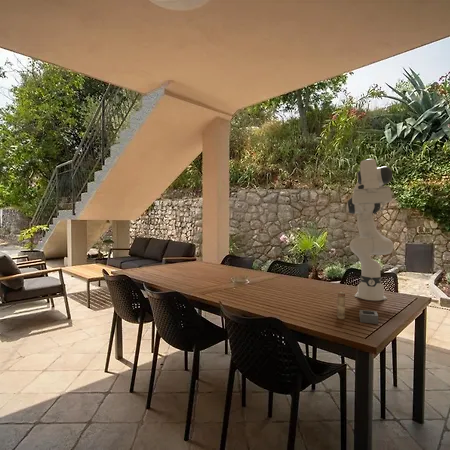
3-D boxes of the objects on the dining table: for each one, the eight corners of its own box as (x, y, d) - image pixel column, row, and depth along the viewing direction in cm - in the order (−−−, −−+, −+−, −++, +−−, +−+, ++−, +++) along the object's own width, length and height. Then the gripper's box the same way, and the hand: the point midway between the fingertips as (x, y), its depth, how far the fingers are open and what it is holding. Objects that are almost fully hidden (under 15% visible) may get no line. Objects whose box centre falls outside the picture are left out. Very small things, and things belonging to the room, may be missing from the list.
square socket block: (359, 317, 167) (359, 309, 167) (376, 318, 164) (376, 311, 164) (360, 322, 159) (360, 314, 159) (378, 324, 157) (378, 315, 157)
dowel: (337, 316, 168) (337, 291, 168) (344, 317, 167) (345, 292, 167) (337, 318, 165) (337, 293, 165) (344, 319, 164) (345, 293, 163)
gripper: (388, 187, 181) (390, 211, 179) (350, 189, 184) (352, 213, 182) (392, 184, 175) (395, 209, 173) (353, 186, 178) (355, 211, 176)
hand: (372, 211), depth 177 cm, fingers open, 8 cm apart
